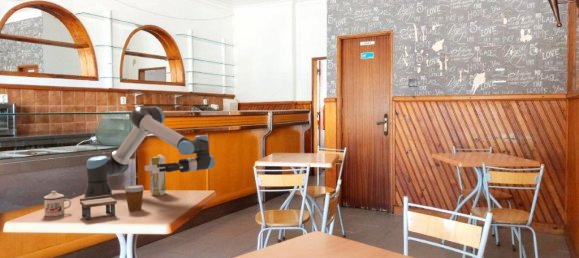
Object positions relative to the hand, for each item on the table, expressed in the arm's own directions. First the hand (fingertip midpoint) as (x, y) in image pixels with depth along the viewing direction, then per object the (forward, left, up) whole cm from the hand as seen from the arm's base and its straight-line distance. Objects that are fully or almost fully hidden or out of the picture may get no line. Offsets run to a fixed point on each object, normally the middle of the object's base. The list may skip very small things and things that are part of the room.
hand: (148, 169), depth 229 cm
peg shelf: (+5, -27, -20) cm, 33 cm away
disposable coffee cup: (+3, -9, -20) cm, 22 cm away
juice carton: (-29, +15, -20) cm, 38 cm away
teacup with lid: (-12, -42, -20) cm, 48 cm away
